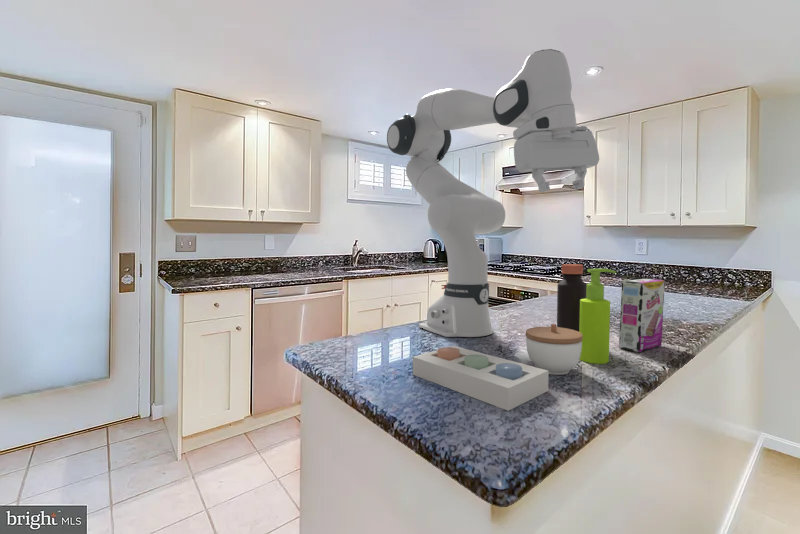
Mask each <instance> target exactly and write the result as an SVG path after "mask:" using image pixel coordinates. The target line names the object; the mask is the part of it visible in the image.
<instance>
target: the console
mask: <svg viewBox="0 0 800 534" xmlns="http://www.w3.org/2000/svg"><path fill="white" fill-rule="evenodd" d="M450 347H452V348H457V349H459V350H460V358H457V359H454V360H451V361H448V360H445V359H442V358H438V357H437V350H438V349H436V350H433V351H428V352H426V353H422V354H419V355H414V356H412V375H413V376H415V377H418V378H421V379H423V380H425V381H429V382H431V383H434V384H436V385H439V386H442V387H445V388H447V389H449V390H453V391H454V392H458V393H460V394H464V395H465V396H468V397H471V398H474V399H476V400H479V401H481V402H484V403H486V404H489V405H492V406H493V407H494V406H495V407H497V408H500V409H502V410H506V411H507V412H508V411H511V410H513V409H515V408H517V407H519V406H521V405H523V404H525V403H527V402H529V401H530V400H533V399H534V398H536V397H539V396H541V395H543V394H544V393H546V392H549V374H548V373H549V371H548V370H544V369H540V368H537V367H536V366H532V365H528V364H525V363H521V362H517V361H513V360H509V359H505V358H501V357H499V356H494V355H491V354H487V353H482V352H480V351H475V350H472V349H467V348H463V347H459V346H456V345H452V346H450ZM467 355H483V356H486V357H488V358H489V366H488V367H486V368H483V369H480V370H478V369H474V368H471V367H468V366H464V357H465V356H467ZM500 363H512V364H517V365H519V366H521V367H522V377H520V378H518V379H515V380H510V379H507V378H504V377H500V376H497V375H496V365H497V364H500Z"/></svg>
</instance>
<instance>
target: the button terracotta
mask: <svg viewBox="0 0 800 534" xmlns="http://www.w3.org/2000/svg"><path fill="white" fill-rule="evenodd" d="M436 350H437V357H438V358H442V359H445V360H448V361H451V360H454V359H457V358H460V350H459V349H457V348H452V347H451V346H444V347H439V348H437V349H436Z"/></svg>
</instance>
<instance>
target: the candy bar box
mask: <svg viewBox="0 0 800 534" xmlns="http://www.w3.org/2000/svg"><path fill="white" fill-rule="evenodd" d="M665 286H666V281H665V280H663V279H656V278H655V279H652V278H639V279H630V280H629V279H628V280H622V281H621V294H620V297H621V299H620V319H619V321H620V323H619V338H618V339H619V342H618V344H619V345H618V348H619V349H622V350H627V351H630V352H634V353H641V352H645V351H648V350H651V349H653V348H658V347H661V346H662V342H663V341H662V339H663V338H662V337H663V324H664V323H663V319H664V305H665V304H664V303H665Z"/></svg>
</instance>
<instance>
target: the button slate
mask: <svg viewBox="0 0 800 534" xmlns="http://www.w3.org/2000/svg"><path fill="white" fill-rule="evenodd" d="M496 375H497V376H500V377H504V378H507V379H510V380H515V379H518V378H520V377H522V367H521V366H519V365H517V364H512V363H500V364H497V365H496Z"/></svg>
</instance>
